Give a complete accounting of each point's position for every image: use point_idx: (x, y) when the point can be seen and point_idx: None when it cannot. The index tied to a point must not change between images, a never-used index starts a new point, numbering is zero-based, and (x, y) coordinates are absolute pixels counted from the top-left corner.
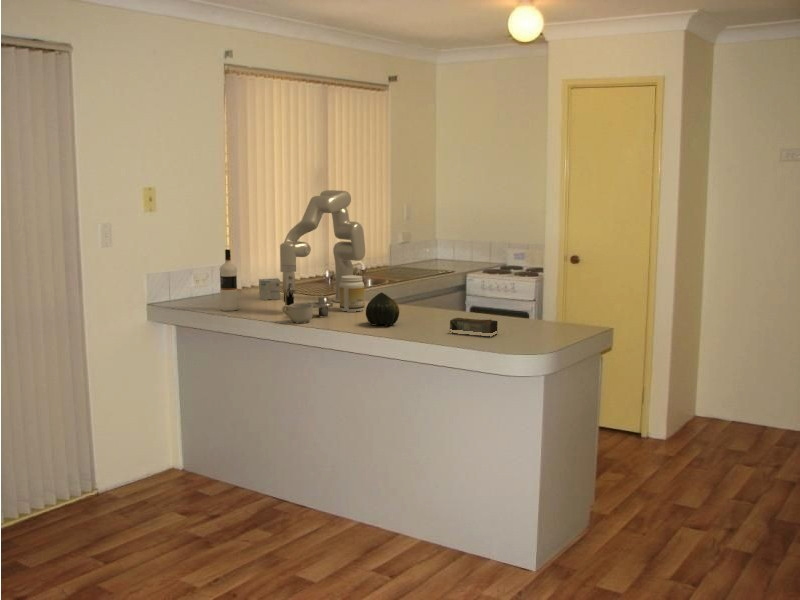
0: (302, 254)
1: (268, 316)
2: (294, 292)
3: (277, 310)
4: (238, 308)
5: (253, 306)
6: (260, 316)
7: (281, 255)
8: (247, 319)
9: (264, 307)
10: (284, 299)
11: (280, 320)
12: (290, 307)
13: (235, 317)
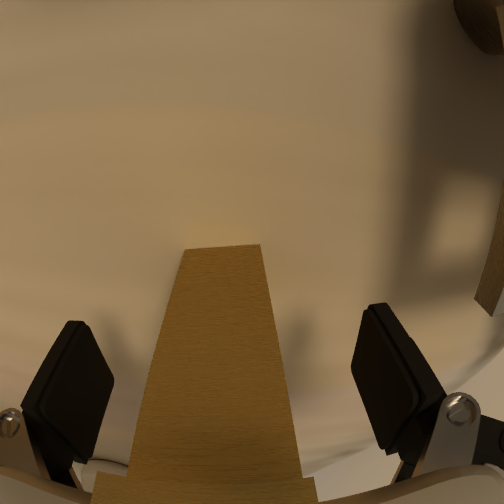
0: None
1: (347, 399)
2: (311, 483)
3: (100, 349)
4: (113, 465)
5: (19, 406)
6: (326, 425)
7: None
8: (374, 443)
9: (22, 381)
10: (104, 403)
11: (484, 331)
12: None
13: (306, 472)
